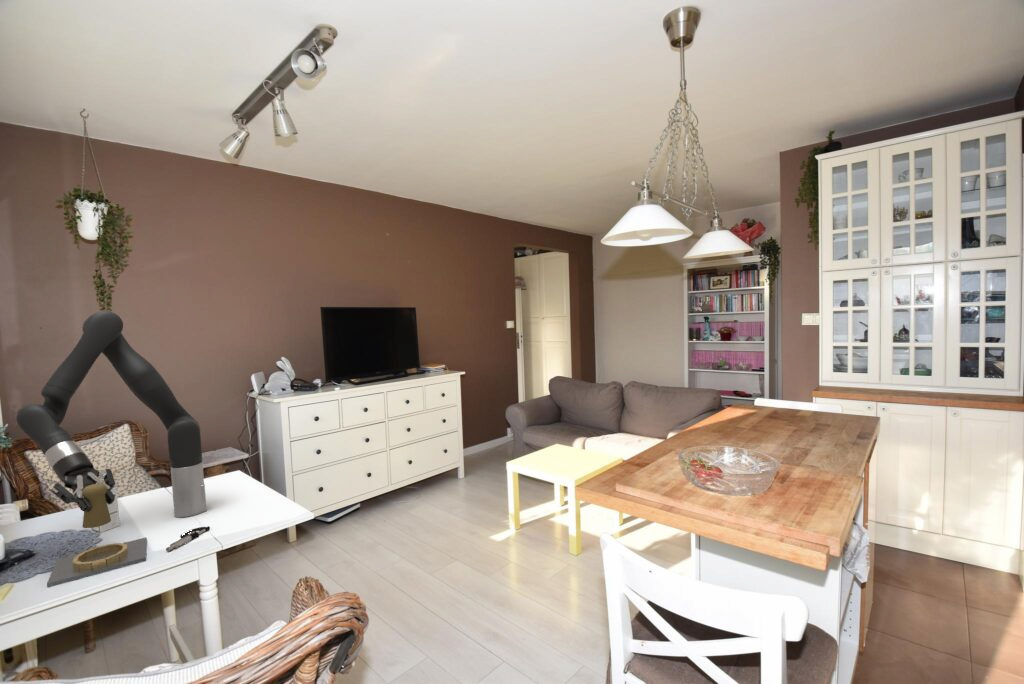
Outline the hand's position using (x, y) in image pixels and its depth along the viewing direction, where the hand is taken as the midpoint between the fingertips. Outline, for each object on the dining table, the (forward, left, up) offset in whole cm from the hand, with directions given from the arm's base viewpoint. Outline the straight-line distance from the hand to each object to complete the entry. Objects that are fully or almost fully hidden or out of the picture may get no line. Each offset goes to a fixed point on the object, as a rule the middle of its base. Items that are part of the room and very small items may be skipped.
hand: (100, 505), depth 132 cm
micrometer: (-18, -3, -17) cm, 25 cm away
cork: (+1, -2, -5) cm, 6 cm away
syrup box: (+2, -30, -17) cm, 35 cm away
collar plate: (+1, -1, -16) cm, 16 cm away
